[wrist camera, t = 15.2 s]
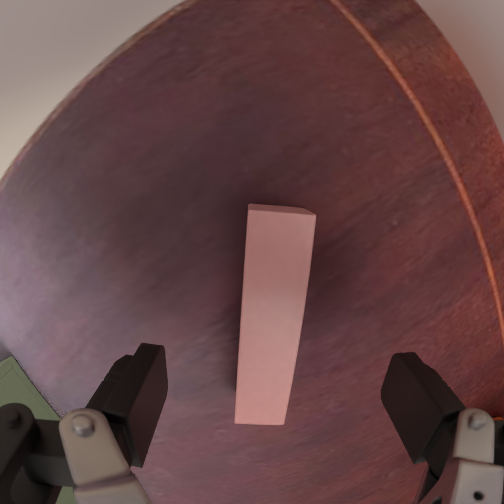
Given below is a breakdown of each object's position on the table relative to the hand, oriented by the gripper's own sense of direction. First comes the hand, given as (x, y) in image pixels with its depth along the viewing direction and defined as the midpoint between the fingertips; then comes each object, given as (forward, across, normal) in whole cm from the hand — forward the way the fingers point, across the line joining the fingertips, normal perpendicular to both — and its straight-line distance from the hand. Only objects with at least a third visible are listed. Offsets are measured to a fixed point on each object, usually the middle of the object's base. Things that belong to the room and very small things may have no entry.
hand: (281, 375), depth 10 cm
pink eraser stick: (+5, 0, 0) cm, 5 cm away
